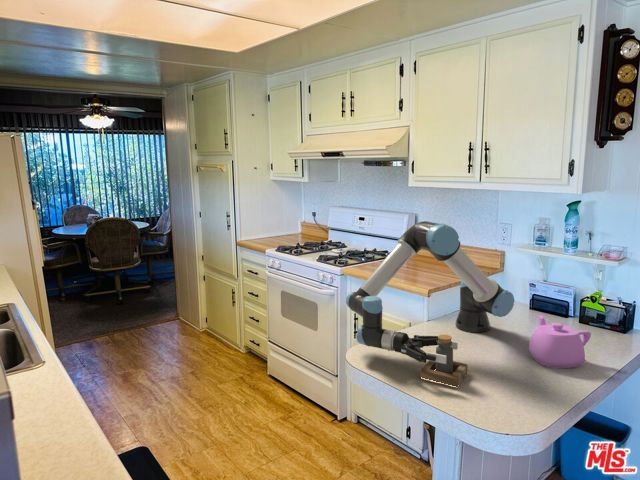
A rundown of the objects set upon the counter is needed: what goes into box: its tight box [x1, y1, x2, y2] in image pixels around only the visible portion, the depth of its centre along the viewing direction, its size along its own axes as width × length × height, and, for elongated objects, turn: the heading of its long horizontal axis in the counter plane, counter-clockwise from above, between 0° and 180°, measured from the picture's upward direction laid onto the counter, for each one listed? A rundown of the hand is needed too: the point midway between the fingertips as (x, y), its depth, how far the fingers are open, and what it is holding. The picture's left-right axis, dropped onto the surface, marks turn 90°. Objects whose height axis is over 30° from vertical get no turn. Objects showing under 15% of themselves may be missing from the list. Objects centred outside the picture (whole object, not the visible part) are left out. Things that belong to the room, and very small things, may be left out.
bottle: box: [435, 333, 454, 375], centre depth 158 cm, size 6×6×15 cm
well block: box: [419, 360, 469, 387], centre depth 159 cm, size 13×13×4 cm
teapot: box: [528, 314, 592, 369], centre depth 170 cm, size 23×21×15 cm
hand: (452, 352), depth 156 cm, fingers open, 13 cm apart
